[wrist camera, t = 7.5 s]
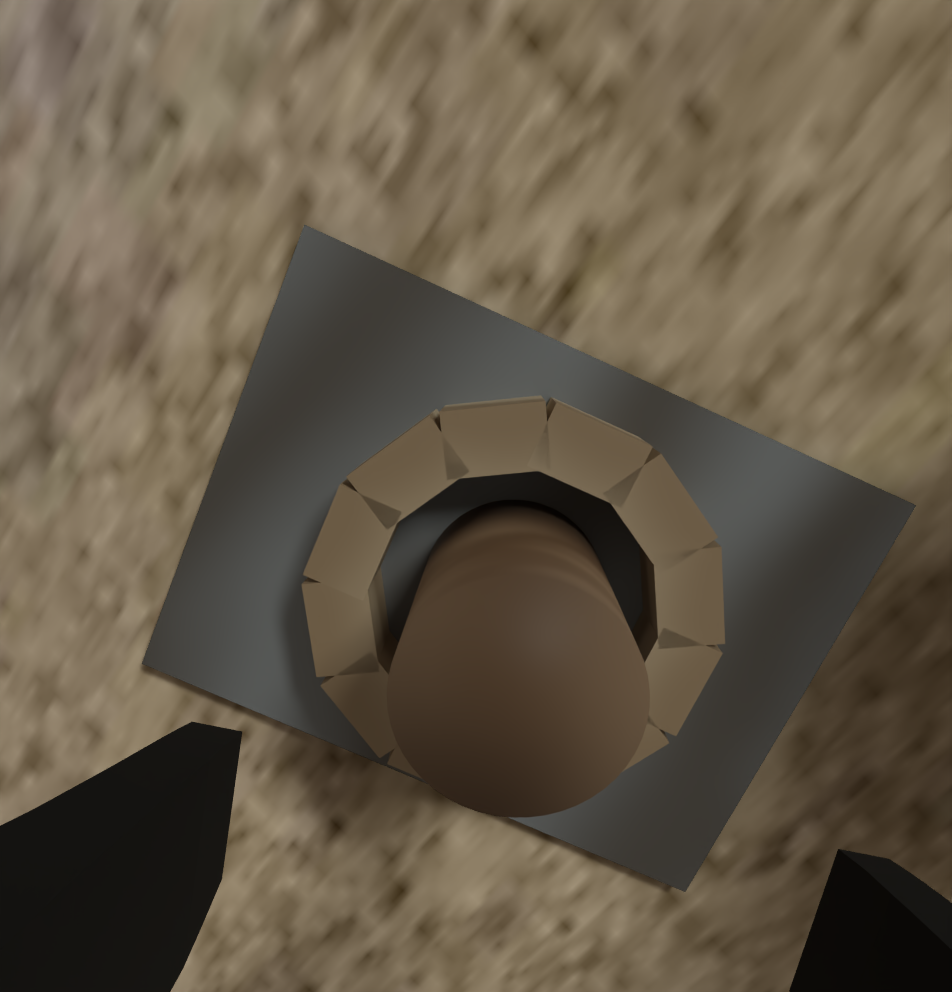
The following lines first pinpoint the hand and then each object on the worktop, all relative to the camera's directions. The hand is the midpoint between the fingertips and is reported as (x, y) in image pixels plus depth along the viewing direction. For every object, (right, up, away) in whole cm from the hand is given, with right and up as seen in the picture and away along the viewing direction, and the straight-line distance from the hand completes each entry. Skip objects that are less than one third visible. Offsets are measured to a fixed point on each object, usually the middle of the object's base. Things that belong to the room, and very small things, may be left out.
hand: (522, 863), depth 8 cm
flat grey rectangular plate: (0, +2, +10) cm, 10 cm away
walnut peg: (0, +2, +10) cm, 10 cm away
